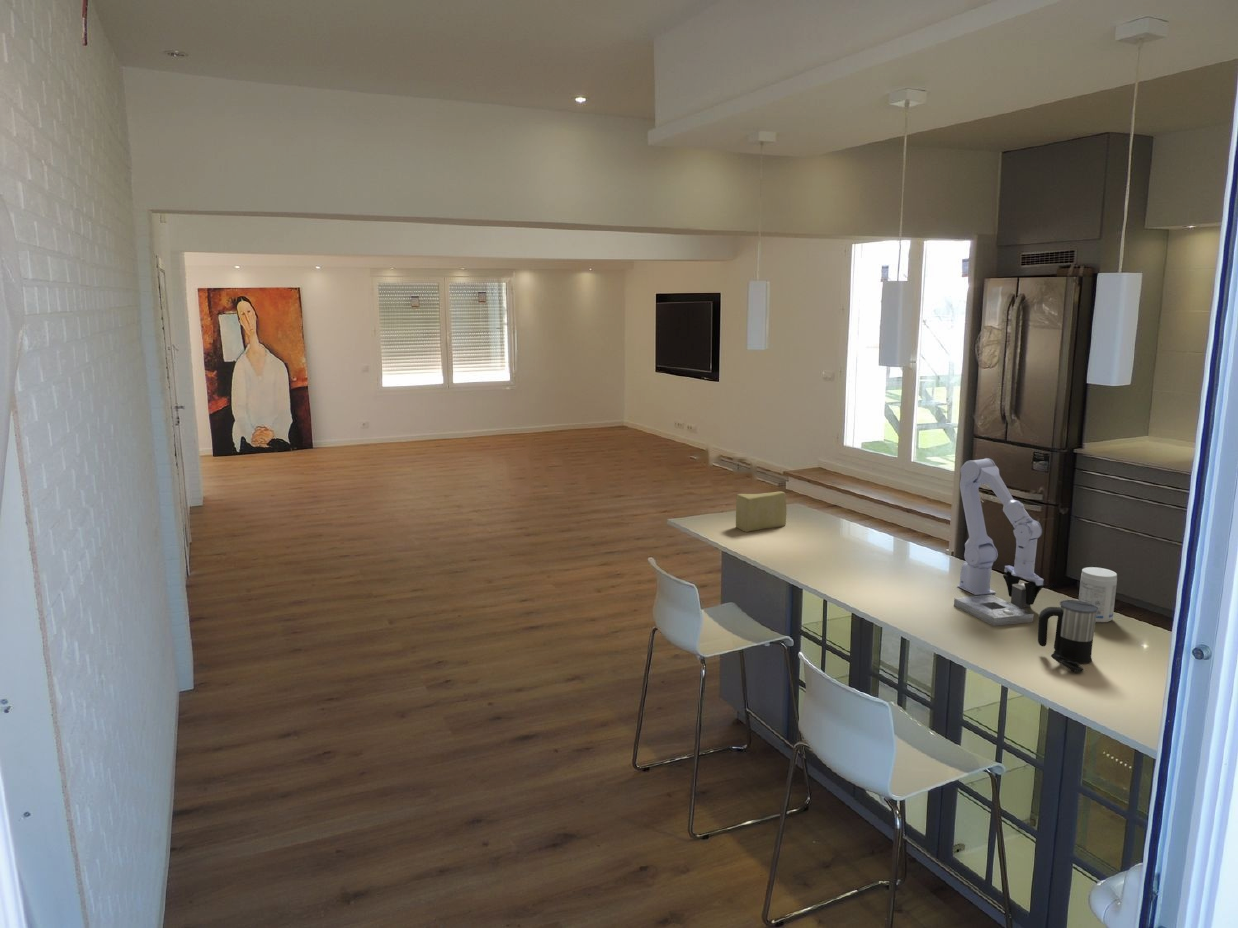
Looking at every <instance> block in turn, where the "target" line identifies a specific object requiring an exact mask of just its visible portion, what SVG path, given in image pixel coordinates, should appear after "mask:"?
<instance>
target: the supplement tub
mask: <svg viewBox="0 0 1238 928" xmlns="http://www.w3.org/2000/svg"><path fill="white" fill-rule="evenodd" d="M1117 582H1118V573H1117V572H1115V571H1113V570H1111V569H1108V568H1102V567H1096V566H1095V567H1093V566H1089V567H1083V568H1082V569H1081V575H1080V582H1079V592H1078V593H1079V594H1078V600H1077V601H1082V602H1087V603H1090V604H1093V605H1095V606H1096V607H1098V608H1099V609H1098V611H1097V613H1096V621H1095V623H1108V622H1110V621H1112V620H1113V618H1114V611H1115V601H1116V592H1117V586H1118V583H1117Z"/></svg>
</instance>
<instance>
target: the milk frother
mask: <svg viewBox="0 0 1238 928" xmlns="http://www.w3.org/2000/svg"><path fill="white" fill-rule="evenodd" d="M1059 605H1060V607H1059V606H1048V607H1045V608H1044V609H1043V610H1041V611H1040V613H1039V615H1038V623H1037V624H1038V626H1037V629H1038V630H1037V643H1038V644H1039V646H1041V647H1046V645H1047V640H1048V625H1049V620H1050V618H1051V617H1057V619H1056V620H1057V621H1056V629H1055V636H1054V644H1053V649H1054V651H1053V653H1051V656H1050V657H1051V658H1052V659H1053V660H1055V661H1056V662H1057V663H1058V664H1061V665H1063V666H1064V667H1066V668H1067V669H1069V670H1070V671H1071V672H1072V673H1075V672H1079V673H1081V672H1082V673H1083V671H1084V667H1083V666H1081V665H1082V664H1083V665H1084V664H1089V663H1091V662H1092V661H1093V657H1092V652H1093V642H1094V634H1095V627H1096V622H1095V621H1096V613H1097V611H1098V609H1099V608H1098V607H1096V606H1095V605H1093V604H1090V603H1087V602H1082V601H1078V600H1077V599H1075V600H1074V599H1072V600H1071V599H1065V600H1061V601H1059Z"/></svg>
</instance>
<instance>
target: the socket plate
mask: <svg viewBox="0 0 1238 928" xmlns="http://www.w3.org/2000/svg"><path fill="white" fill-rule="evenodd" d="M953 606H954V607H956V608H958V609H959V610H962V611H963V612H965V613H967V614H969V615H970V616H973V617H975V618H977V619H979V620H980V621H983V622H985V623H987V624H988V625H990V626H992V627H998V626H1007V625H1009V626H1010V625H1015V624H1025V623H1033V621H1034V613H1032V612H1030V611H1028V610H1026V609H1024V608H1020V607H1018V606H1016V605H1013V604H1011V602H1009V601H1007V600H1005V599H1002V598H1000V597H998V596H996V595H994V594H983V595H975V596H974V595H971V596H963V597H961V596H960V597H954V599H953Z"/></svg>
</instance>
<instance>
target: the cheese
mask: <svg viewBox="0 0 1238 928" xmlns="http://www.w3.org/2000/svg"><path fill="white" fill-rule="evenodd" d="M786 496H787V494H786V492H784V491H781V490H780V491H779V490H778V491H774V492H773V491H772V492H763V493H738V494H736V498H735V499H736V500H735V502H736V503H735V527H736V528H737V529H738V530H741V531H743V532H744V533H745V532H746V533H749V532H753V531H760V530H764V529H765V530H766V529H772V528H779V527H785V526H786V525H787V497H786Z"/></svg>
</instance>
